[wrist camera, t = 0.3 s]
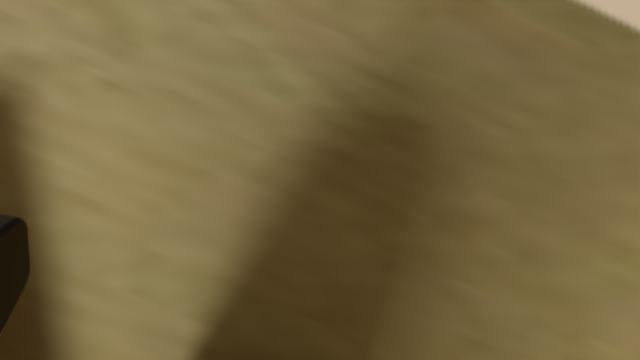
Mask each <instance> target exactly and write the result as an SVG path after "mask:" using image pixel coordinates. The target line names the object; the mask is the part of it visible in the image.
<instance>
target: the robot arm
mask: <svg viewBox="0 0 640 360" xmlns="http://www.w3.org/2000/svg"><path fill="white" fill-rule="evenodd" d="M29 274H30V255H29V241H28V228H27V223H26V221H25V220H24V219H23V218H22V217H20V216H17V215H11V214H6V213H1V212H0V335H1V333H2V331H3V329H4V327H5V325H6V323H7V321H8V319H9V317H10V315H11V313H12V311H13V310H14V308H15V306H16V304H17V302H18V300H19V298H20V296H21V294H22V292H23V290H24V288H25V286H26V284H27V281H28V278H29Z"/></svg>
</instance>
